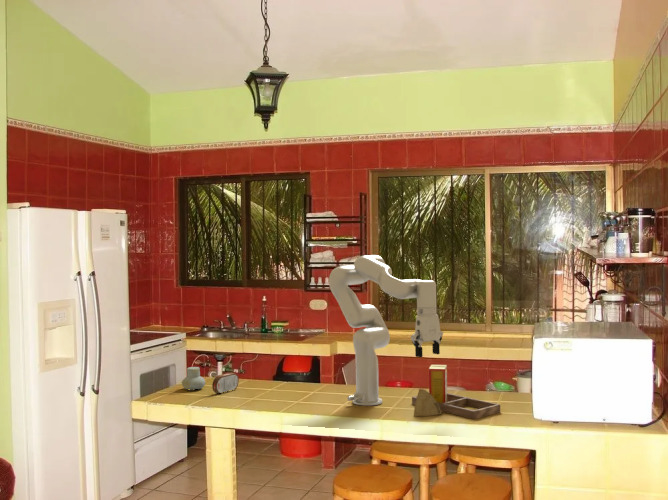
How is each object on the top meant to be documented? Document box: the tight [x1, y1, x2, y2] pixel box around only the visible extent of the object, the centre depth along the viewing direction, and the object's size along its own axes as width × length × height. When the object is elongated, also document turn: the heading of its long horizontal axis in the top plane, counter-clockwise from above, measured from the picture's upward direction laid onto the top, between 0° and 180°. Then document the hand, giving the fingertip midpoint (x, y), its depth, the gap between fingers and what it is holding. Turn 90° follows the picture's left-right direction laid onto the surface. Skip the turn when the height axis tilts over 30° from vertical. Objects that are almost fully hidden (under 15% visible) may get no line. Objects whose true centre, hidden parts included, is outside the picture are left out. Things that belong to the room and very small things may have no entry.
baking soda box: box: [428, 364, 448, 403], centre depth 290 cm, size 10×6×16 cm
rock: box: [413, 388, 442, 417], centre depth 273 cm, size 11×9×10 cm
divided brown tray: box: [411, 392, 501, 420], centre depth 284 cm, size 16×33×3 cm, turn 39°
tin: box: [211, 372, 240, 394], centre depth 319 cm, size 15×3×8 cm, turn 144°
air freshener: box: [181, 366, 206, 391], centre depth 326 cm, size 11×8×10 cm
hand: (427, 355), depth 273 cm, fingers open, 9 cm apart
